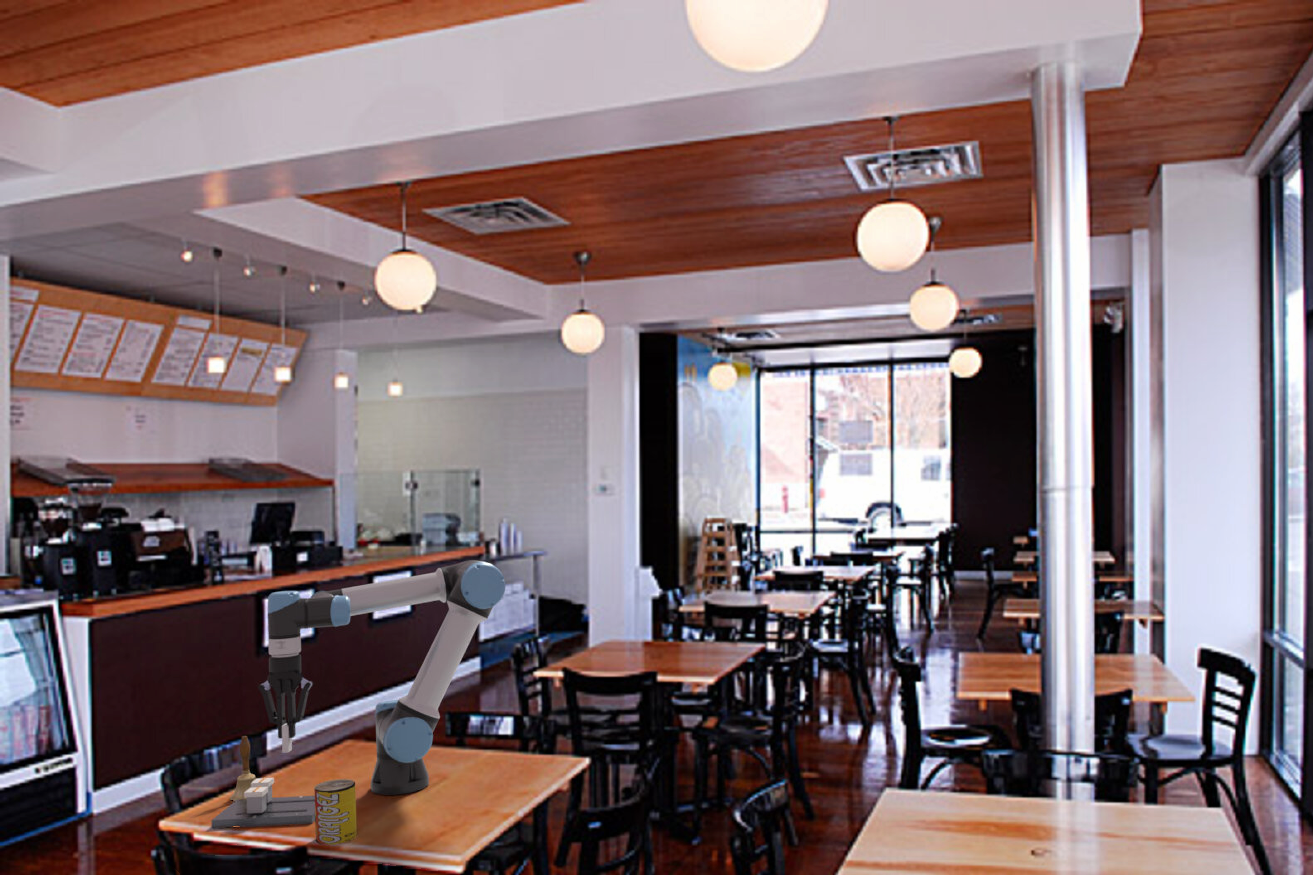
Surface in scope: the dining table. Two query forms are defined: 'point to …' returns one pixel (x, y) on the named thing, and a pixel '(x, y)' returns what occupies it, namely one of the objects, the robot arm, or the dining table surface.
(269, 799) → the block
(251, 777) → the hand bell
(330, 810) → the beverage can
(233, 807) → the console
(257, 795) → the fader near
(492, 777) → the dining table surface
